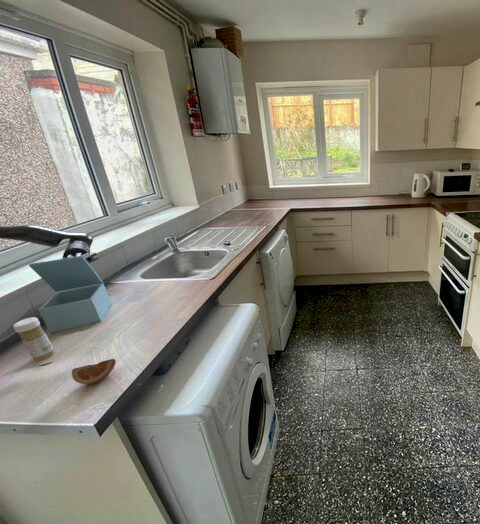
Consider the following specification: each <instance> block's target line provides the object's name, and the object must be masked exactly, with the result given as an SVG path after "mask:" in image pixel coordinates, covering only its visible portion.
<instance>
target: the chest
mask: <svg viewBox="0 0 480 524" xmlns="http://www.w3.org/2000/svg"><path fill="white" fill-rule="evenodd" d="M111 306H112V301H111V298H110V296H109V294H108V290H107V289H106V286H105V284H104V283H101V284H95V285H90V286H84V287H79V288H74V289H68V290H63V291H57V292H56V291H55V293H54V294H52V296H51V297H49V299H48V300H47V301H46V302H45V303H44V304H42V306H40V308H39V309H38V311H37V312H39V314H40V316H41V318H42V320H43V322H44V323H45V325H46V327H47V329H48V331H49V333H50V334H52V333H55V332H61V331H65V330H70V329H73V328H77V327H82V326H87V325H91V324H96V323H100V322H102V321H103V319H104V317H105V316H106V314H107V312H108V311H109V309H110V308H111Z"/></svg>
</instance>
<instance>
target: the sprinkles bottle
mask: <svg viewBox="0 0 480 524" xmlns="http://www.w3.org/2000/svg"><path fill="white" fill-rule="evenodd" d="M12 327H13V329H14V331H15V332H16V333H17V334H18V336H19V338H20V340H21V341H22V343H23V345H24V346H25V348H26V350H27V351H28V353H29V355H30V356H31V357H32V359H33V361H34V362H41V361H45V360H47V359H49V358H51V357H53V356H54V355H55V353H56V351H55V349H54V346H53V345H52V343H51V341H50V340H49V338H48V336H47V334H46V332H45V331H44V330H43V327H42V326H41V322H40V320H39V319H38V318H37V317H35V316H33V317H27V318H23V319H21V320H18V321H17V322H15V323H14V324H13V326H12ZM52 363H53V361H51V362H46V363H43V364H39V365H38V367H44V366H47V365H50V364H52Z"/></svg>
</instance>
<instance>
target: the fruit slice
mask: <svg viewBox="0 0 480 524" xmlns="http://www.w3.org/2000/svg"><path fill="white" fill-rule="evenodd" d="M116 364H117V361H116V359H115V358H111V359H107V360H103V361H100V362H97V363H94V364H87V365H84V366H79V367H75V368H73V369H72V370H71V376H72V379H73V381H74V382H76V383H78V384H82V385H91V384H96V383H99V382H101V381H103V380H104V379H106V378H107V377H108V376H109V375H110V374H111V373H112V371H113V370H114V369H115V367H116Z"/></svg>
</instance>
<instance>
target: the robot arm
mask: <svg viewBox="0 0 480 524" xmlns="http://www.w3.org/2000/svg"><path fill="white" fill-rule="evenodd" d="M1 239H3V240H10V241H18V242H19V241H20V242H24V243H25V242H26V243H31V244H35V245H38V246H39V245H40V246H44V247H49V248H57V247H59V245H61V243H62V242H63V241H64V240H69V241H68V243H67V246H66V247H65V249H64V251H63V254H62V257H61V259H65V258H71V257H78V256H83V257H84V258H85V259H86V261H87V262H88V263H89V264H91V263H93V262H95V261H97V260H100V259H99V256H98V254H97V252H93V253H92V252H91V247H92V244H93V241H94V239H93V237H92V236H91V235H90V234H88V233H85V232H77V231H76V232H75V231H73V232H72V231H71V232H70V231H61V230H55V229H52V228H48V227H43V226H38V225H31V224H30V225H29V224H28V225H27V224H25V225H24V224H23V225H10V226H7V225H5V226H4V225H3V226H1V225H0V240H1Z"/></svg>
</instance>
